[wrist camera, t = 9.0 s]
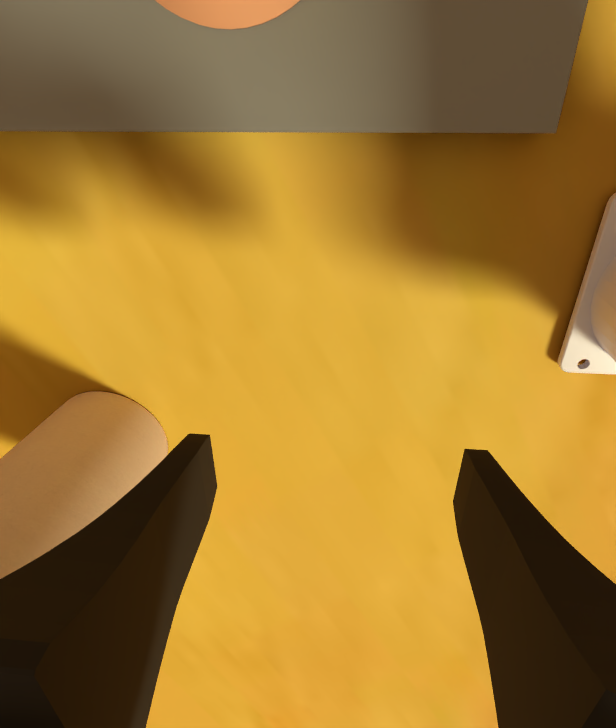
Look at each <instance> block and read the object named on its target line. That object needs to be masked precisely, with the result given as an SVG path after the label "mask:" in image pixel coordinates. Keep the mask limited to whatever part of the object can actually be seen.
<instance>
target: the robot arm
mask: <svg viewBox="0 0 616 728" xmlns="http://www.w3.org/2000/svg"><path fill="white" fill-rule="evenodd" d="M583 359H586V361H585V362H584V363H583V364H580V365H577V364H578V362H579V361H581V360H583ZM558 365H559V367H560V368H561V369H562V370H563V371H565V372H570V373H594V374H616V193H614V194H613V195H612V196H611V197H610V198H609V200H608V202H607V205H606V208H605V212H604V215H603V218H602V221H601V224H600V227H599V231H598V234H597V237H596V240H595V243H594V246H593V250H592V253H591V256H590V259H589V262H588V266H587V269H586V272H585V275H584V278H583V281H582V285H581V288H580V291H579V294H578V297H577V300H576V304H575V307H574V310H573V313H572V316H571V320H570V323H569V326H568V329H567V332H566V335H565V339H564V342H563V345H562V348H561V351H560V355H559V358H558ZM216 489H217V482H216V475H215V468H214V461H213V454H212V447H211V440H210V435H205V434H188V435H187V436H186V437H185V438H184V439H183V440H182V441H181V442H180V443H179V444H178V445H177V446H176V447H175V448H174V449H173V450H172V451H171V452H170V453H169V454H168V455H167V456H166V457H165V458H164V459H163V460H162V461H161V462H160V463H159V464H158V465H157V466H156V467H155V468H154V469H153V470H152V471H151V472H150V473H149V474H148V475H146V476H145V477H144V478H143V479H142V480H141V481H140V482H139V483H138V484H137V485H136V486H135V487H134V488H132V489H131V490H130V491H129V492H128V493H127V494H125V495H124V496H123V497H122V498H121V499H120V500H119V501H117V502H116V503H115V504H114V505H113V506H112V507H110V508H109V509H108V510H107V511H105V512H104V513H103V514H102V515H100V516H99V517H98V518H96V519H95V520H94V521H92V522H91V523H90V524H88V525H87V526H85V527H84V528H83V529H81V530H80V531H78V532H77V533H76V534H74V535H73V536H71V537H70V538H68V539H66V540H65V541H63V542H62V543H60V544H59V545H57V546H56V547H54V548H53V549H51V550H49V551H48V552H46V553H45V554H43V555H42V556H40V557H38V558H37V559H35V560H33V561H31V562H30V563H28V564H26V565H25V566H23V567H21V568H19V569H17V570H16V571H14V572H12V573H10V574H8V575H6V576H5V577H3V578H1V579H0V728H146V724H147V719H148V715H149V711H150V707H151V703H152V698H153V694H154V690H155V686H156V682H157V678H158V674H159V670H160V666H161V662H162V658H163V654H164V650H165V647H166V643H167V639H168V635H169V632H170V628H171V625H172V621H173V617H174V614H175V610H176V607H177V604H178V601H179V598H180V595H181V592H182V589H183V586H184V584H185V581H186V579H187V576H188V573H189V571H190V568H191V566H192V563H193V560H194V558H195V555H196V553H197V550H198V547H199V545H200V542H201V540H202V537H203V534H204V532H205V529H206V526H207V524H208V521H209V518H210V514H211V510H212V506H213V502H214V498H215V494H216ZM453 505H454V513H455V520H456V527H457V533H458V538H459V542H460V546H461V550H462V554H463V557H464V561H465V565H466V568H467V572H468V576H469V579H470V583H471V587H472V590H473V594H474V598H475V601H476V605H477V609H478V612H479V616H480V620H481V625H482V629H483V634H484V639H485V645H486V651H487V657H488V663H489V668H490V674H491V681H492V687H493V694H494V700H495V706H496V713H497V720H498V727H499V728H616V584H615V583H613V582H612V581H611V580H610V579H609V578H607V577H606V576H605V575H604V574H603V573H601V572H600V571H599V570H598V569H597V568H596V567H595V566H594V565H592V564H591V563H590V562H589V561H588V560H587V559H586V558H585V557H584V556H582V555H581V554H580V553H579V552H578V551H577V550H576V549H575V548H574V547H573V546H572V545H571V544H569V543H568V542H567V541H566V540H565V539H564V538H563V537H562V536H561V535H560V534H559V532H558V531H557V530H556V529H555V528H554V527H553V526H552V525H551V524H550V523H549V522H548V521H547V520H546V519H545V518H544V517H543V516H542V515H541V513H540V512H539V511H538V510H537V509H536V508H535V507H534V506H533V504H532V503H531V502H530V501H529V500H528V499H527V498H526V496H525V495H524V494H523V493H522V492H521V491H520V489H519V488H518V487H517V486H516V485H515V483H514V482H513V481H512V480H511V479H510V477H509V476H508V475H507V474H506V472H505V471H504V470H503V469H502V467H501V466H500V465H499V464H498V462H497V461H496V460H495V459H494V458H493V456H492V455H491V454H490V453H489V452H488V450H474V449H465V450H464V454H463V459H462V463H461V468H460V472H459V477H458V481H457V486H456V490H455V495H454V499H453Z"/></svg>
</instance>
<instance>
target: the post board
mask: <svg viewBox="0 0 616 728" xmlns="http://www.w3.org/2000/svg"><path fill="white" fill-rule="evenodd" d="M587 3H588V0H0V131H102V132H360V133H556V131H557V127H558V123H559V119H560V115H561V110H562V106H563V102H564V98H565V94H566V90H567V86H568V81H569V77H570V73H571V69H572V65H573V61H574V57H575V53H576V48H577V44H578V40H579V36H580V32H581V28H582V24H583V20H584V15H585V11H586V7H587Z"/></svg>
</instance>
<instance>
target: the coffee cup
mask: <svg viewBox="0 0 616 728" xmlns="http://www.w3.org/2000/svg"><path fill="white" fill-rule="evenodd" d="M167 453H168V443H167V438H166V435H165V433H164V430H163V428H162V427H161V425H160V424H159V422H158V421H157V420H156V418H155V417H154V416H153V415H152V414H151V413H150V412H149V411H147V410H146V409H145V408H144V407H142V406H141V405H139V404H138V403H136V402H134V401H132V400H130V399H128V398H126V397H123V396H121V395H118V394H114V393H109V392H101V391H92V392H85V393H81V394H78V395H76V396H74V397H72V398H70V399H69V400H67V401H66V402H65V403H64V404H63V405H62V406H60V407H59V408H58V409H57V410H56V411H55V412H54V413H52V414H51V415H50V416H49V417H48V418H47V419H45V420H44V421H43V422H42V423H41V424H40V425H39V426H37V427H36V428H35V429H34V430H33V431H32V432H31V433H29V434H28V435H27V436H26V437H25V438H24V439H23V440H21V441H20V442H19V443H18V444H17V445H16V446H15V447H13V448H12V449H11V450H10V451H9V452H8V453H6V454H5V455H4V456H3V457H2V458H1V459H0V579H1V578H3V577H5V576H6V575H8V574H10V573H12V572H14V571H16V570H17V569H19V568H21V567H23V566H25V565H26V564H28V563H30V562H31V561H33V560H35V559H37V558H38V557H40V556H42V555H43V554H45V553H46V552H48V551H49V550H51V549H53V548H54V547H56V546H57V545H59V544H60V543H62V542H63V541H65V540H66V539H68V538H70V537H71V536H73V535H74V534H76V533H77V532H78V531H80V530H81V529H83V528H84V527H85V526H87V525H88V524H90V523H91V522H92V521H94V520H95V519H96V518H98V517H99V516H100V515H102V514H103V513H104V512H105V511H107V510H108V509H109V508H110V507H112V506H113V505H114V504H115V503H116V502H117V501H119V500H120V499H121V498H122V497H123V496H124V495H125V494H127V493H128V492H129V491H130V490H131V489H132V488H134V487H135V486H136V485H137V484H138V483H139V482H140V481H141V480H142V479H143V478H144V477H145V476H146V475H148V474H149V473H150V472H151V471H152V470H153V469H154V468H155V467H156V466H157V465H158V464H159V463H160V462H161V461H162V460H163V459H164V458H165V457H166V456H167Z"/></svg>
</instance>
